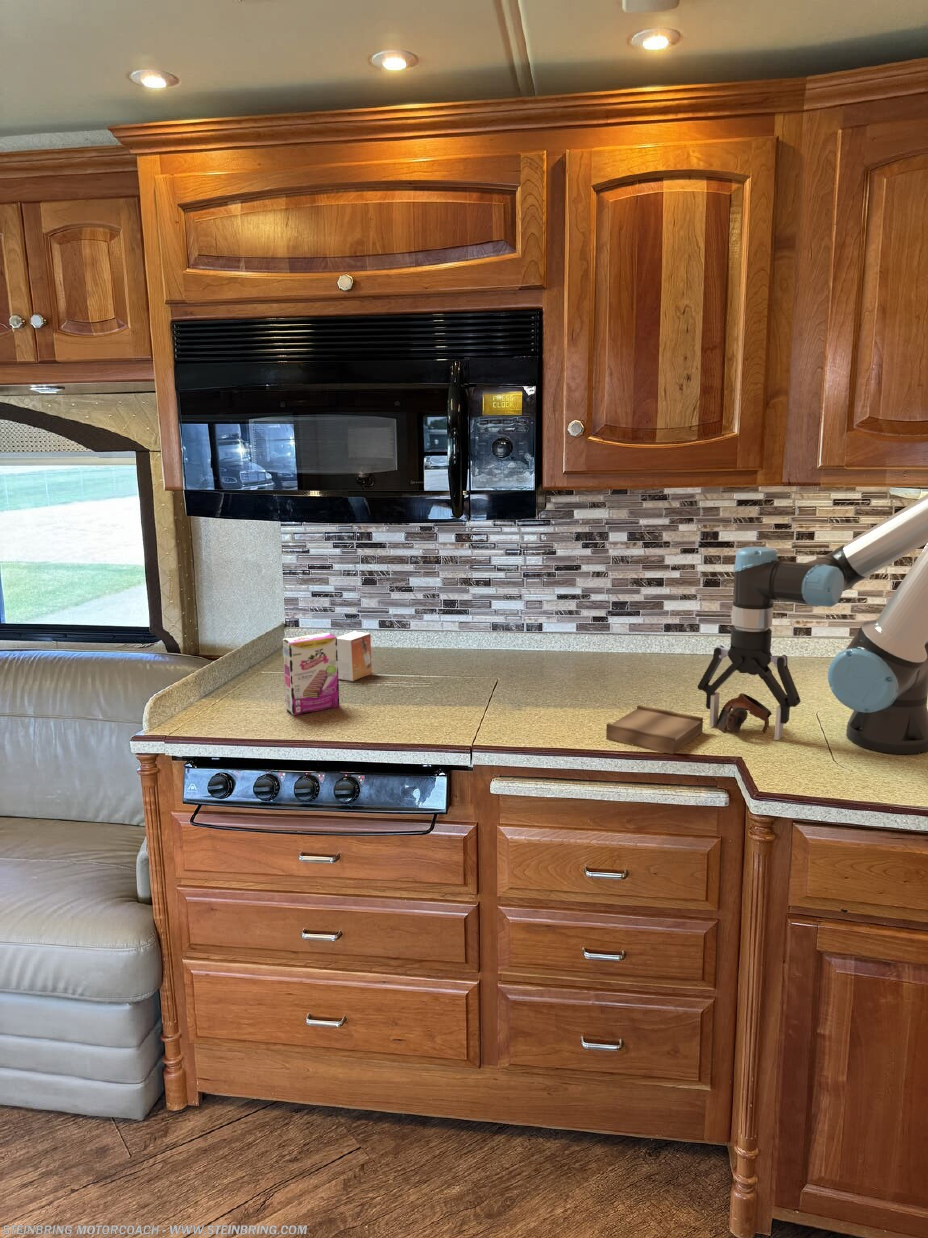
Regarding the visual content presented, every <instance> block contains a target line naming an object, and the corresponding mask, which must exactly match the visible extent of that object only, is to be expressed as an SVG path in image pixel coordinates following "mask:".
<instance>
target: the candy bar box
mask: <svg viewBox="0 0 928 1238" xmlns="http://www.w3.org/2000/svg"><path fill="white" fill-rule="evenodd" d="M337 637H338V636H336V635H334V634H333V633H330V632H323V633H317V634H308V635H302V636H301V635H300V636H294V637H285V638H282V639H281V641H282V643H281V644H282V658H283V659H282V660H283V672H284V674H283V677H284V679H283V680H284V695H285V697H284V698H285V710H286V711H287V712H289V713H290V714H291V715H292V716H298V715H302V714H303V715H304V714H308V713H313V712H318V711H324V710H329V709H335V708H338V707H340V688H339V687H340V685H339V684H340V682H339V680H340V679H339V678H338V655H337Z"/></svg>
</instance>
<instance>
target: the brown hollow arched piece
mask: <svg viewBox="0 0 928 1238" xmlns="http://www.w3.org/2000/svg"><path fill="white" fill-rule="evenodd" d="M748 713H749V714H750V715H752V716H754V717H755V718H758V719H760V720H761V721H763V722H764V726H763V728H762V731H761V732H762V733H763V734H766V733H767V731H768V728H769V726H770V719H769V718H770V717H771V715H772V714H773V713H772V711H770V710H769V708H767V706H765V705H764V704H762V703H761V702H760V701H758V700H757V699H755V698H753V697H752V696H750V695H748V694H746V693H742V692H741V693H739V695H738V696H737V697H733V698H731V699H729V700H727V702H726V703H725V704H724V705H723V707H722V708H721V709H720V712H719V714H718V722H717V724H716V725H715V726H716V727H717V728H718V729H719V730H720V731H721V732H722V733H726V731H727V729H728V731H729V732H731V733H739V732H740V729H741V727H742V724H744V723H745V721H746V720H747V718H748Z"/></svg>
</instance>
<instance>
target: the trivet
mask: <svg viewBox="0 0 928 1238" xmlns="http://www.w3.org/2000/svg"><path fill="white" fill-rule="evenodd" d="M703 723H704V717H702V716H696V715H692V714H686V713H680V712H675V711H671V710H666V709H661V708H656V707H652V706H647V705H642V704H641V705H640V704H638V705H637V706H636V709H634V710H632V711H631V712H629V713H628V714H626V715H625V716H622V717H621V718H619V719H618V720H616V721H614V722H612V723H610V722H607V724H606V732H605V733H606V737H605V738H606V740H609V741H613V740H615V741H614V742H617V741H619V743H622V742H623V744H626V743H627V744H626V745H630V744H633V745H632V746H635V745H637V746H636V747H639V746H640V748H645V749H648V748H650V749H649V750H652V749H654V750H653V751H656V750H657V751H658V752H661V753H665V752H666V754H671V755H674V754H676V753H677V752H678V751H679V750H681V749H682V748H684V746H686V745H688V744H689V743H690V742H691V741H693V740H694V739H696V738H697V737H699V736H700V735H701V734H703V728H704V727H703V726H704V724H703ZM699 734H700V735H699ZM696 736H697V737H696ZM695 737H696V738H695ZM680 748H681V749H680Z"/></svg>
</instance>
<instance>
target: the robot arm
mask: <svg viewBox="0 0 928 1238" xmlns="http://www.w3.org/2000/svg"><path fill="white" fill-rule="evenodd" d="M923 546H924V548H923V549H922V551H921V552H920V553H919V555H918V556H917V558H916V560H915V561H914V563H913V564H912V565H911V567H910V569H909V570H908V571H907V573H906V574H905V576H904V577H903V579H902V581H901V582H900V584H899V585H898V587H897V588H896V590H895V591H894V593H893V594H892V596H891V597H890V598H889V601H888V602H887V603H886V605H885V606H884V608H883V609H882V611H881V612H880V613H879V616H877V618H876V619H871V620H866V621H864V622H863V623H862V624H861V625H860V627H859V629H858V630H857V632H856V633H855V634H854V636H853V638H852V639H851V641H850V642H849V644H847V645H848V646H846V648H845V649H843V650H842V651H840V652H839V653H838V654H836V655H835V656H834V658H833V659H832V661H831V662H830V664H829V666H828V670H827V682H828V684H829V687H830V690H831V692H832V694H833V695H834V697H835V698H836V699H837V701H839V702H840V703H841V704H842V705H844V706H845V707H846V708H849V709H850V710H852V713H851V715H850V717H849V719H848V721H847V724H846V733H845V735H846V738H847V739H848V740H849V741H850V742H852V743H854V744H855V745H857V746H859V747H862V748H866V749H868V750H871V751H876V752H880V753H886V754H896V755H915V754H914V753H918V754H920V753H919V752H923V753H927V752H928V493H927V494H925V495H924V496H922V497H920V498H919V499H917V500H915V501H913V502H911V503H910V504H909V505H907V506H906V507H904V508H902V509H901V510H898V511H897V512H896V513H894V514H893V515H890V516H889V517H887V518H885V519H884V520H882V521H880V522H879V523H877V524H876V525H874V526H872V527H871V528H869V529H868V530H865V531H864V532H862V533H861V534H859V535H858V536H856V537H854V538H852V539H851V540H849V541H847V542H846V543H844V544H843V545H842V546H839V547H837V548H836V549H834V550H832V551H831V552H829V553H828V554H825V555H823V556H821V557H818V558H816V559H813V560H809V561H806V562H797V561H796V562H795V561H786V560H780V559H778V553H777V552H778V551H777V550H776V549H775V548H772V547H768V546H746V547H742V548H741V547H740V548H739V549H738V550H737V551H736V554H735V560H734V561H735V562H734V569H733V593H732V594H733V597H732V598H733V600H732V607H731V608H732V609H731V610H732V611H731V624H732V627H731V630H730V646H729V648H726V647H724V645H719V646H717V647H715V648H714V649H713V654H712V655H713V656H712V660H711V661H710V662H709V664H708V667H707V668H706V670H705V671H704V674H703V675H702V677H701V679H700V680H699V683H698V685H697V689H698V690H699V691H703V692H704V693H705V694H706V696H705V697H706V699H705V700H706V701H705V703H706V704H705V707H706V709H707V710H709V727H712V728H713V727H715V726H717V725H716V724H717V722H718V718H719V715H720V711H719V710H720V692H716V691H717V690H718V689H719V688H720V687H721V686H722V685H723V684H724V683H725V682H726V681H727V680H728V679H729V678H730V677H731V676H732V675H733V674H734V673H735V672H736V671H737V672H738V673H739V674H749V675H751V676H756V675H758V677H759V678H760V679H761V680H762V681H763V682H764V684H765V685H766V687H767V688H768V689H769V691H770V692H771V694H772V696H773V697H774V699H775V700H776V701H777V703H778V704H779V705H778V706H776V709H775V725H774V736H773V737H774V741H779V740H780V739H782V738H783V736H784V724H785V725H786V724H787V723H788V722H789V721H790V712H791V711H790V710H791V708H792V707H793V708H796V707H797V706H798V705H799V704H800V703H801V702H802V701H801V698H800V694H799V692H798V690H797V687H796V685H795V684H796V683H795V682H794V679H793V677H792V674H791V672H790V669H789V667H788V656H787V655H786V654H782V655H773V654H772V650H771V648H772V632H773V631H772V629H771V628H772V626H773V619H774V618H773V617H774V604H775V603H774V601H778V602H784V603H785V602H786V603H793V604H799V605H807V606H812V607H815V608H816V607H827V608H831V607H834V606H836V605H838V603H839V600H840V599H841V598H842V594H843V592H846V591H847V590H850V589H851V588H852V587H854V586H855V585H856V584H857V583H859V582H861V581H863V580H864V579H866V578H868V577H869V576H871V575H873V574H875V573H876V572H878V571H881V570H882V569H883V568H886V567H887V566H889V565H891V564H893V563H894V562H896V561H898V560H900V559H901V558H903V557H905V556H907V555H909V554H911V553H912V552H914V551H916V550H918V549H919V548H921V547H923ZM726 657H728V659H729V660H730V662H731V664H730V665H729V666H728V667H727V668H726V669H725V670H724V671H723V672H722V673H721V674H720V675H719V676H718V677H717V679H716V680H715V681H713V683H711V680H712V679H713V677H714V675H715V674H716V671H717V670H718V668H719V666H720V664H721V662H722V661H723V659H724V658H726ZM770 663H772V664H773V665H774V667H775V668H776V670H777V674H778V675H779V678H780V682H781V683H782V686H781V684H780V683H779V682H778V680H777V679H776V677H775V676H774V674H773V672H772V670H771V668H770V666H769V665H770ZM710 683H711V684H710ZM782 687H783V688H784V689H783V688H782ZM926 751H927V752H926Z"/></svg>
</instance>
